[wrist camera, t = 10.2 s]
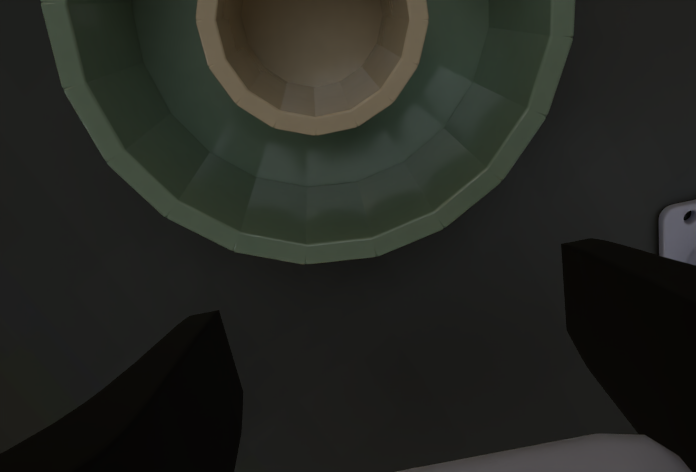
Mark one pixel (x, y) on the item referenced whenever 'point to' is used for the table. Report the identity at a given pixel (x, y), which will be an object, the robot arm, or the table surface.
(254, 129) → the green handled tub
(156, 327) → the table surface
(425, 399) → the table surface
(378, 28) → the cup
